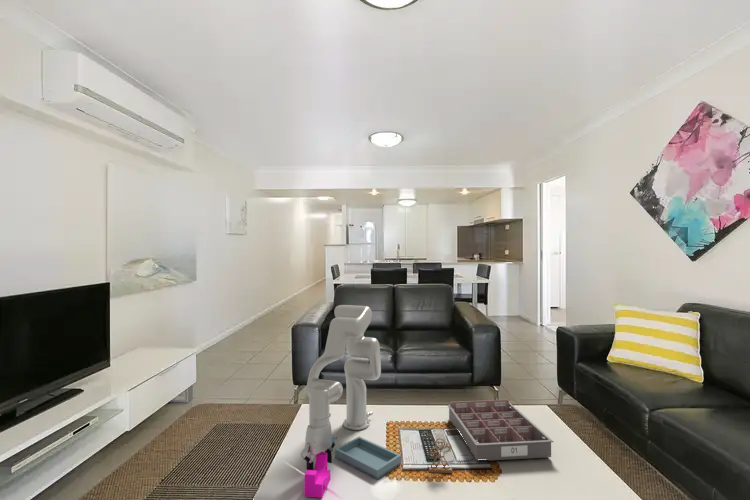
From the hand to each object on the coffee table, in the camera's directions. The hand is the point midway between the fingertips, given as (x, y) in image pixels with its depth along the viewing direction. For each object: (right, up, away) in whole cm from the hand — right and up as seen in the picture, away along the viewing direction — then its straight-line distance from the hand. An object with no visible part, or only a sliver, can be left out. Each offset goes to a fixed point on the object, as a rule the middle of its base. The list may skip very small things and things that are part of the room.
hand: (319, 466), depth 145 cm
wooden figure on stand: (+46, -2, +2) cm, 46 cm away
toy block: (+1, -3, -7) cm, 7 cm away
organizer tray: (+74, -3, +26) cm, 79 cm away
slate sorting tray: (+18, -2, +8) cm, 20 cm away
